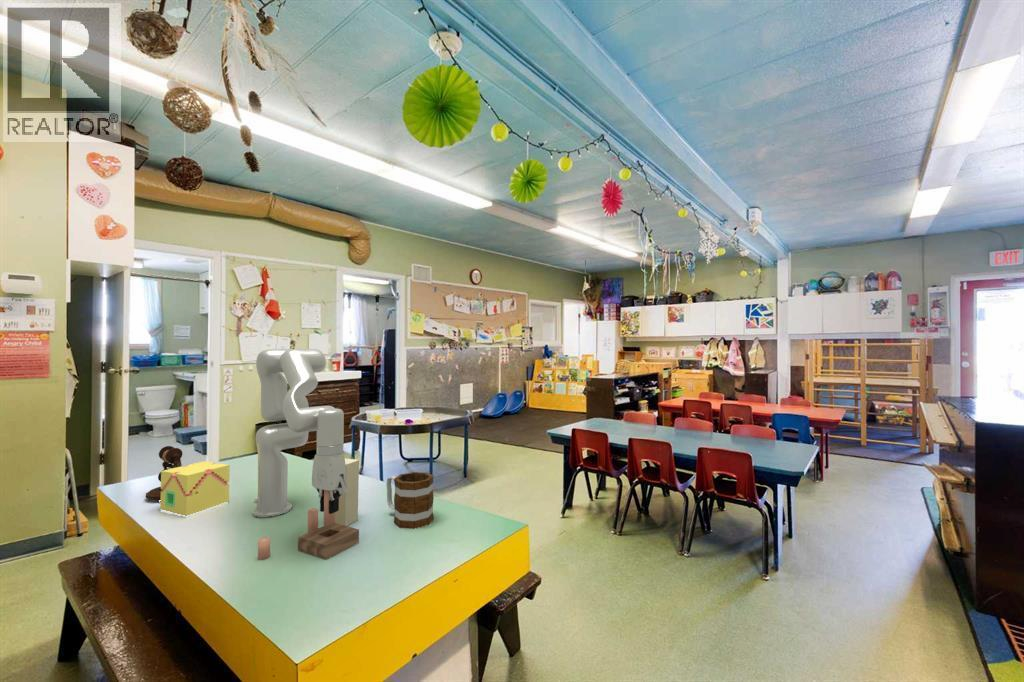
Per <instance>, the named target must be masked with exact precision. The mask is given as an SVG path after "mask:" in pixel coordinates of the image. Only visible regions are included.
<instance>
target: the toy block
mask: <svg viewBox="0 0 1024 682" xmlns="http://www.w3.org/2000/svg"><path fill="white" fill-rule="evenodd" d="M167 469H168V468H167ZM160 472H161V482H160V487H161V489H162V491H161V501H160V503H159V504H160V506H159V507H160V508H159V509H162V510H166V511H170V512H173V513H177V514H181V515H185V516H187V515H190V514H193V513H196V512H199V511H202V510H205V509H207V508H210V507H213V506H216V505H219V504H221V503H224V502H228V501H229V502H230V464H226V463H216V462H212V461H206V460H203V461H199V462H195V463H191V464H187V465H183V466H182V467H177V468H169V469H168V470H164V469H163V471H162V470H161V471H160ZM228 483H229V484H228Z"/></svg>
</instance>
